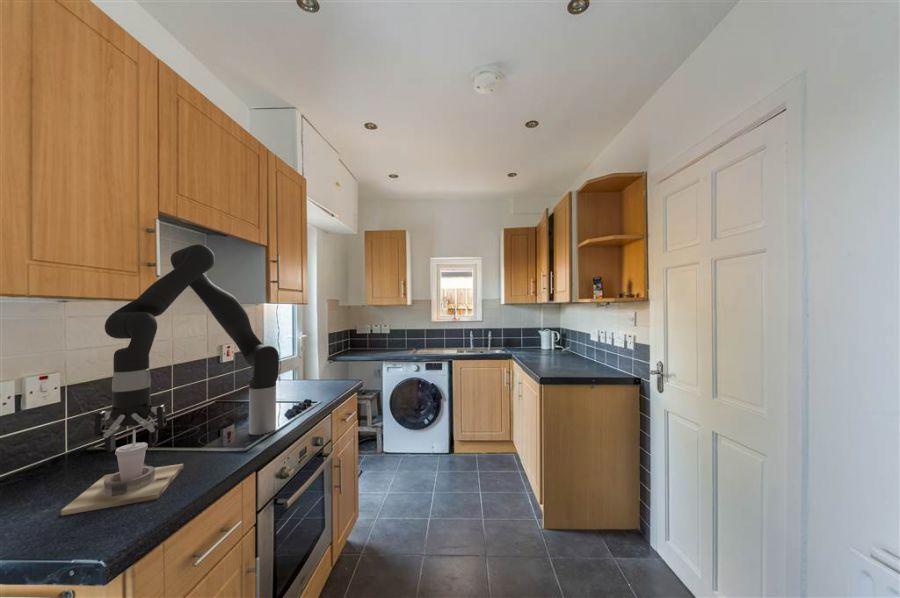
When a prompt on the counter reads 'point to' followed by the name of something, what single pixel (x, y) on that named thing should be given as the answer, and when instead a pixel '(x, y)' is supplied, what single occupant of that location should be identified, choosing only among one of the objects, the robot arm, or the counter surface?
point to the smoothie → (131, 459)
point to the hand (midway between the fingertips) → (132, 447)
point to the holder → (124, 489)
